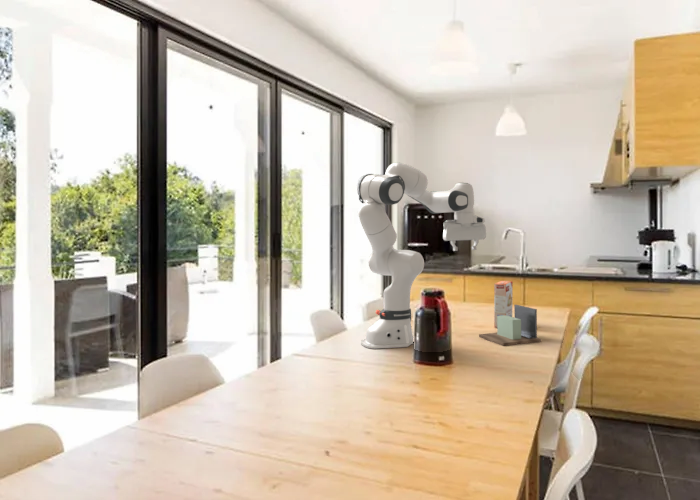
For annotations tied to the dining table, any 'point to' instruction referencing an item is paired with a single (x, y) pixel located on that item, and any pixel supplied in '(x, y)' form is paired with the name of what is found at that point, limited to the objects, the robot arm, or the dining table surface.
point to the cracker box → (502, 299)
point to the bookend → (527, 321)
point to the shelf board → (507, 339)
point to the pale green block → (509, 327)
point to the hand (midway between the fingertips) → (464, 250)
